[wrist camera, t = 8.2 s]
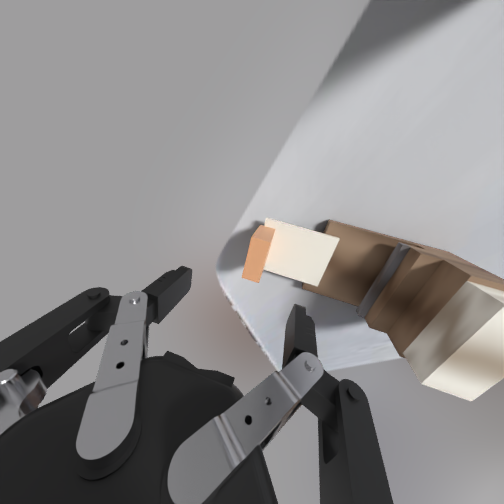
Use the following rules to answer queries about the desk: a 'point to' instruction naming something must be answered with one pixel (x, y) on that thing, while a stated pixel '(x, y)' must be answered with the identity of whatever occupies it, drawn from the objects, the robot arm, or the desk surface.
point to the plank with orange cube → (288, 252)
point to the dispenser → (422, 306)
